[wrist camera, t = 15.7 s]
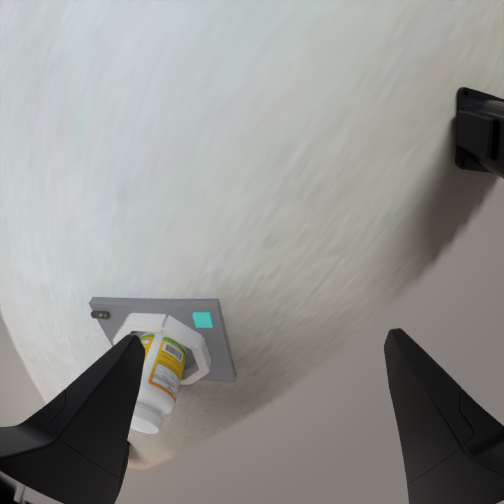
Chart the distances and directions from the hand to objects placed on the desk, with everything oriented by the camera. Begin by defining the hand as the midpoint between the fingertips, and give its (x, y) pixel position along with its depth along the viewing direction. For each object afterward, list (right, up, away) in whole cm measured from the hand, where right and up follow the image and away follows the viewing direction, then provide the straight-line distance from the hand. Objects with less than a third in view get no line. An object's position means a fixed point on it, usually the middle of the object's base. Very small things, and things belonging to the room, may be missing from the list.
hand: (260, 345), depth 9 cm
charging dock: (-10, -6, +20) cm, 23 cm away
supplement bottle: (-10, -7, +19) cm, 23 cm away
